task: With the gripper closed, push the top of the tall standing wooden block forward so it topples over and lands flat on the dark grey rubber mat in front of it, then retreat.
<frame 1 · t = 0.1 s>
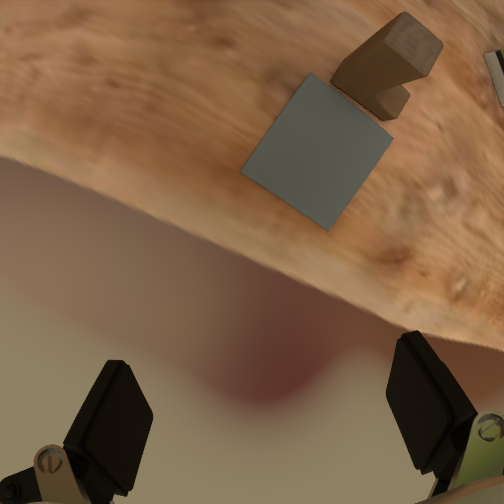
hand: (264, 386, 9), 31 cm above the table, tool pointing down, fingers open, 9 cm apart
wooden block: (363, 90, 33), on the table
mat: (320, 151, 36), on the table
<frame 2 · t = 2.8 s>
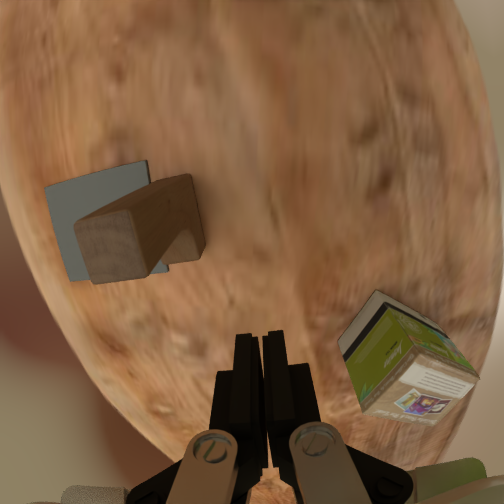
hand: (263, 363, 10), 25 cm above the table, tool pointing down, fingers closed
wooden block: (181, 213, 34), on the table
mat: (102, 226, 35), on the table
tea box: (389, 330, 41), on the table
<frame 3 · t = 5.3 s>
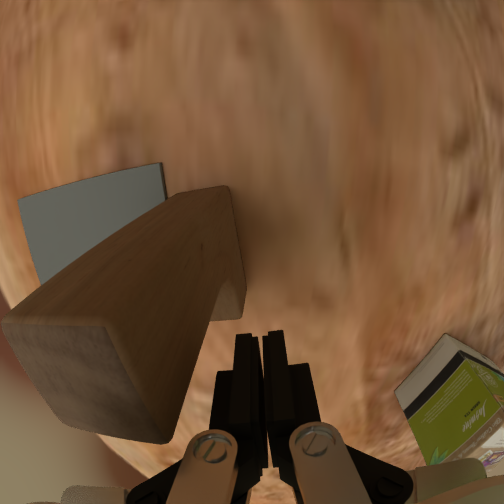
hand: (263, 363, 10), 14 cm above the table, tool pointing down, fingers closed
wooden block: (211, 243, 24), on the table
mat: (95, 256, 24), on the table
tea box: (447, 373, 30), on the table
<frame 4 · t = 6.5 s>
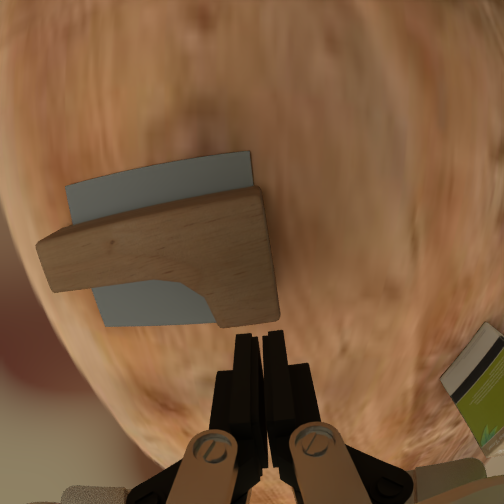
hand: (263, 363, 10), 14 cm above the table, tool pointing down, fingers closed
wooden block: (273, 251, 21), point 3 cm above the table, touching mat
mat: (163, 250, 24), on the table
tea box: (483, 360, 30), on the table
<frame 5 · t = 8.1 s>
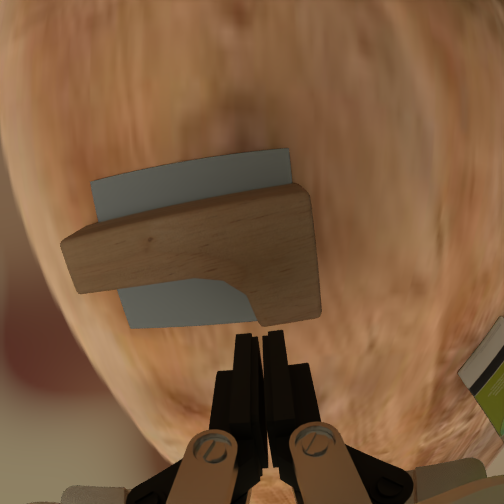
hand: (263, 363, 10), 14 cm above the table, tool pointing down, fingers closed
wooden block: (314, 248, 21), point 3 cm above the table, touching mat
mat: (196, 248, 24), on the table
tea box: (497, 354, 30), on the table
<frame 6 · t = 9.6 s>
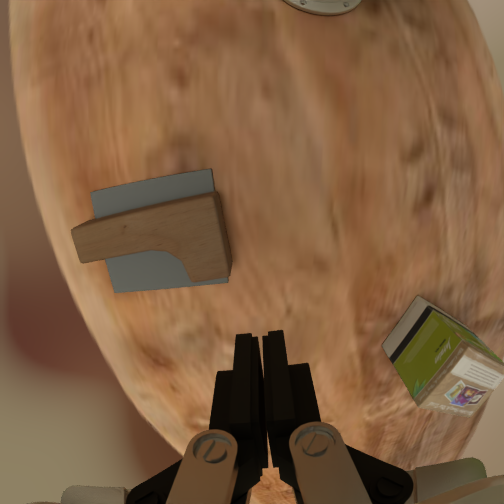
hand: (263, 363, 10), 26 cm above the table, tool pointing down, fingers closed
wooden block: (226, 232, 33), point 3 cm above the table, touching mat
mat: (157, 235, 36), on the table
tea box: (425, 333, 41), on the table
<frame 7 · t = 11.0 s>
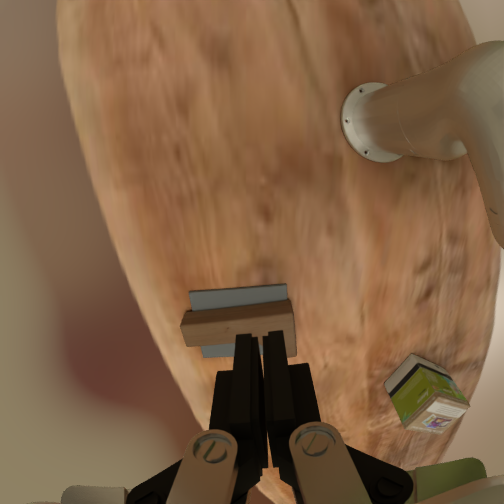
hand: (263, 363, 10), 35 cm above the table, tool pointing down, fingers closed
wooden block: (295, 328, 48), point 3 cm above the table, touching mat
mat: (241, 323, 51), on the table
tea box: (415, 374, 57), on the table
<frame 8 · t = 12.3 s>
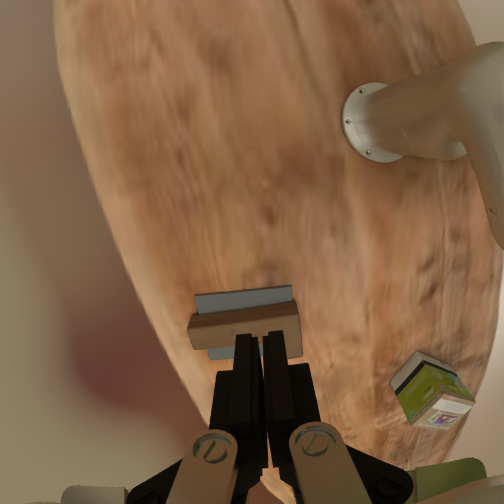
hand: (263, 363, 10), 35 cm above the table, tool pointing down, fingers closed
wooden block: (301, 329, 48), point 3 cm above the table, touching mat
mat: (247, 325, 51), on the table
tea box: (420, 371, 57), on the table
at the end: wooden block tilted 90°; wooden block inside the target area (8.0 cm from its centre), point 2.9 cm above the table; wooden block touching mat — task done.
